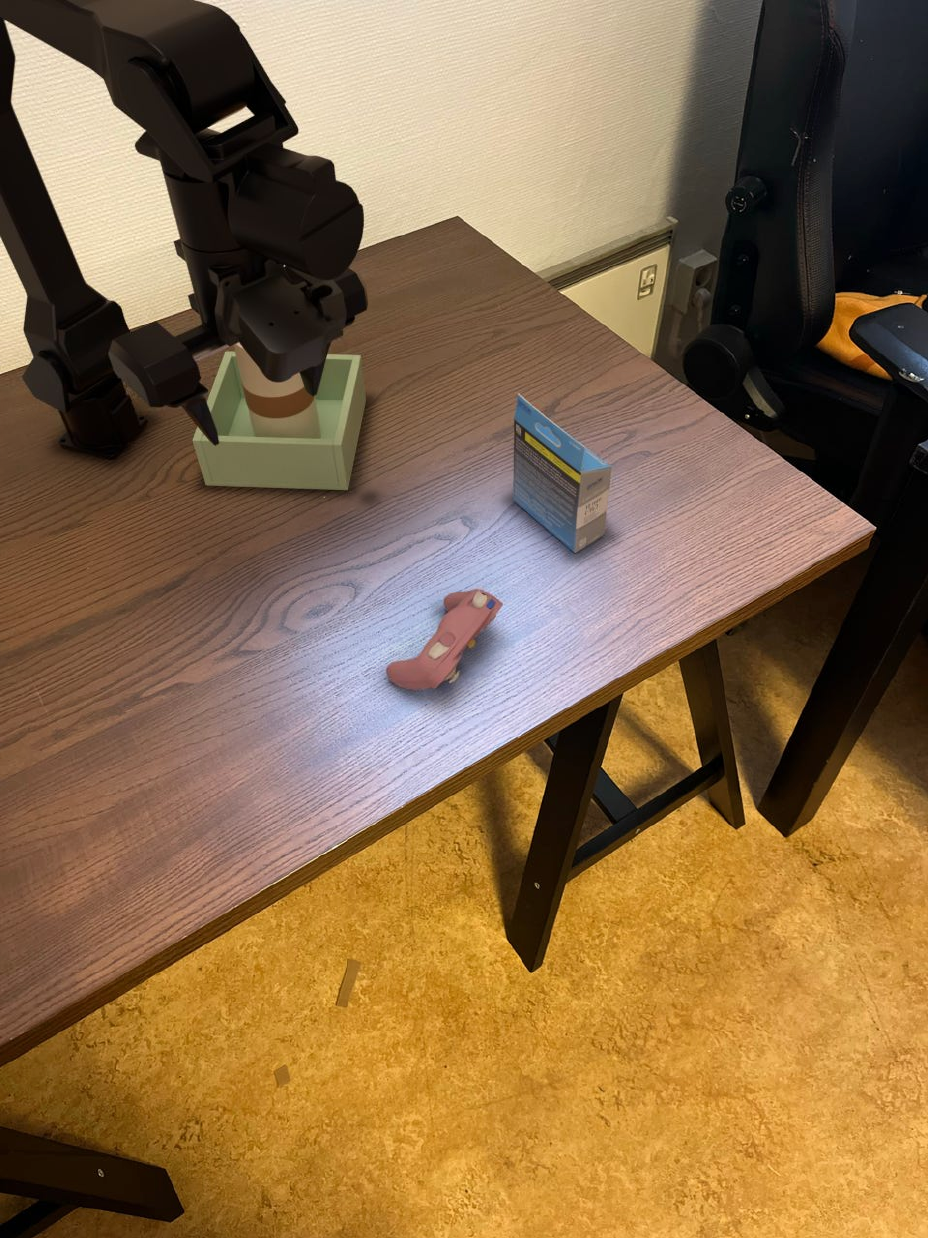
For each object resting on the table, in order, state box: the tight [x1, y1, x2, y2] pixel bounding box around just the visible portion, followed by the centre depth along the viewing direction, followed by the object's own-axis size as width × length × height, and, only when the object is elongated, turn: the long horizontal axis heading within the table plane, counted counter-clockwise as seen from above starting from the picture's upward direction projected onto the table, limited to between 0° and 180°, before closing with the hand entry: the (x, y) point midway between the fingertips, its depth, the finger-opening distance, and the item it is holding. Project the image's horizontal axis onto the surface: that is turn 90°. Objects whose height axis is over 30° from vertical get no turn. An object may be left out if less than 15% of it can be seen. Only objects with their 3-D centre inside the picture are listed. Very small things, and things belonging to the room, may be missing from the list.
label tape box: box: [512, 392, 612, 554], centre depth 81 cm, size 9×4×12 cm, turn 37°
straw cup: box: [232, 343, 321, 439], centre depth 86 cm, size 6×6×16 cm
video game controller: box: [386, 588, 504, 691], centre depth 74 cm, size 10×5×7 cm, turn 148°
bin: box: [192, 351, 367, 491], centre depth 91 cm, size 14×14×6 cm
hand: (264, 417), depth 75 cm, fingers open, 9 cm apart
